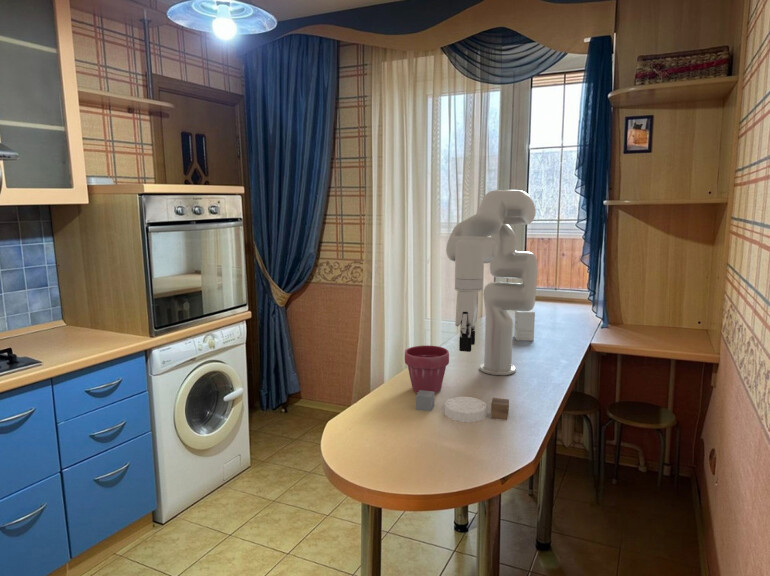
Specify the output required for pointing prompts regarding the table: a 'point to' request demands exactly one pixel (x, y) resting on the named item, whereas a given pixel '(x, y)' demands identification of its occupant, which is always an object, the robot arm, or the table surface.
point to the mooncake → (465, 409)
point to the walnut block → (500, 408)
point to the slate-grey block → (425, 400)
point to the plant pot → (426, 367)
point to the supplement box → (524, 325)
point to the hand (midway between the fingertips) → (467, 347)
